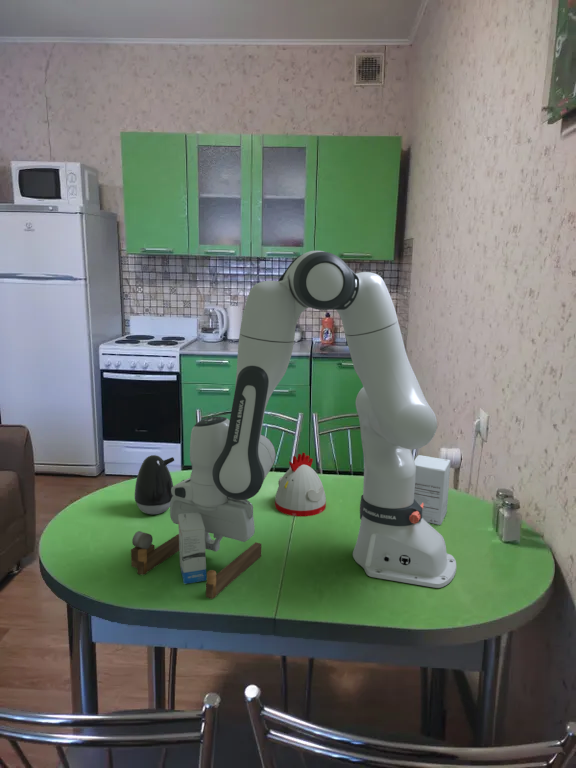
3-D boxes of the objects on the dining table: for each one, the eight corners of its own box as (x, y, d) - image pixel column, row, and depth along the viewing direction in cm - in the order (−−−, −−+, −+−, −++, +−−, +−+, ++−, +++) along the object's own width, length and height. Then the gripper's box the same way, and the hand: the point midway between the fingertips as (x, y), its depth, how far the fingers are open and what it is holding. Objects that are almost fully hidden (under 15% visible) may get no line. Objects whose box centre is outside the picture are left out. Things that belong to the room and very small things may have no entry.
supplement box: (414, 505, 152) (417, 454, 149) (447, 512, 148) (451, 459, 145) (406, 518, 144) (409, 464, 141) (440, 525, 140) (445, 470, 137)
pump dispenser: (176, 516, 143) (175, 460, 139) (134, 520, 140) (132, 463, 137) (174, 501, 152) (173, 448, 149) (135, 504, 150) (133, 450, 147)
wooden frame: (261, 556, 124) (262, 526, 122) (212, 599, 107) (212, 565, 106) (182, 533, 134) (182, 505, 132) (126, 569, 117) (125, 538, 116)
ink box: (206, 581, 113) (206, 528, 111) (182, 584, 112) (181, 531, 109) (201, 560, 121) (200, 510, 119) (178, 563, 120) (177, 513, 118)
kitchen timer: (264, 504, 151) (265, 452, 148) (301, 491, 161) (302, 442, 158) (299, 521, 141) (300, 465, 138) (336, 507, 150) (338, 454, 147)
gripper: (260, 494, 118) (259, 554, 120) (182, 477, 127) (184, 533, 129) (244, 505, 112) (245, 567, 115) (164, 486, 121) (166, 544, 124)
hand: (212, 549), depth 122 cm, fingers closed
